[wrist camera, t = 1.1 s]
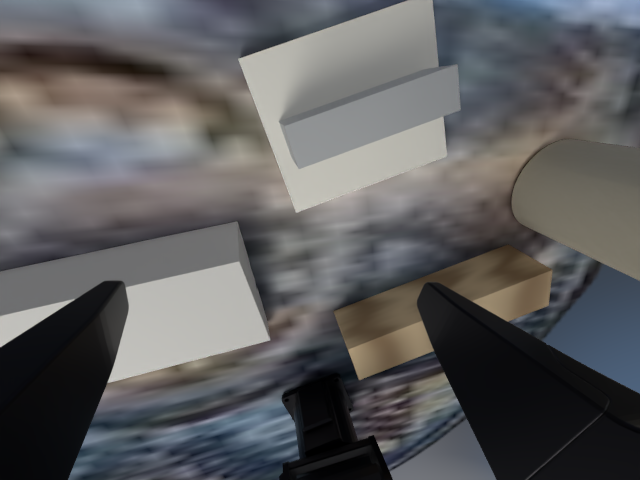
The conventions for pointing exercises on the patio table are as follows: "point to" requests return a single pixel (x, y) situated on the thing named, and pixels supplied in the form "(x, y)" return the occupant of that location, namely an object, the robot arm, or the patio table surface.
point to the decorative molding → (152, 297)
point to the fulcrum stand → (354, 101)
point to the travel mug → (585, 200)
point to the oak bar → (464, 278)
